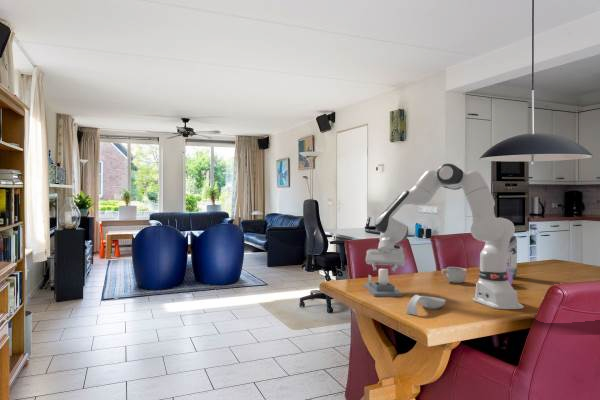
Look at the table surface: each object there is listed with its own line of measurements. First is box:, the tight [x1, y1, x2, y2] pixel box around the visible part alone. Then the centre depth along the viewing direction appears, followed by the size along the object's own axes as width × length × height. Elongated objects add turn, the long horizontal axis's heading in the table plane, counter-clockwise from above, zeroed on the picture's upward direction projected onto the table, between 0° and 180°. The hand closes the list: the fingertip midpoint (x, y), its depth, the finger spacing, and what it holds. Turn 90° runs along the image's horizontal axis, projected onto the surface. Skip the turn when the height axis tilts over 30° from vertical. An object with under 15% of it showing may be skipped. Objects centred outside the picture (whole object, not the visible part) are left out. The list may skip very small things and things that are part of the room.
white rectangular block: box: [377, 268, 389, 286], centre depth 209 cm, size 5×5×10 cm
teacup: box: [441, 266, 467, 284], centre depth 234 cm, size 14×11×8 cm
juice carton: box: [506, 233, 518, 280], centre depth 250 cm, size 9×10×27 cm
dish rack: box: [363, 274, 404, 298], centre depth 211 cm, size 24×14×6 cm, turn 4°
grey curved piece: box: [406, 294, 446, 316], centre depth 177 cm, size 24×12×7 cm, turn 136°
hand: (383, 270), depth 211 cm, fingers open, 8 cm apart
